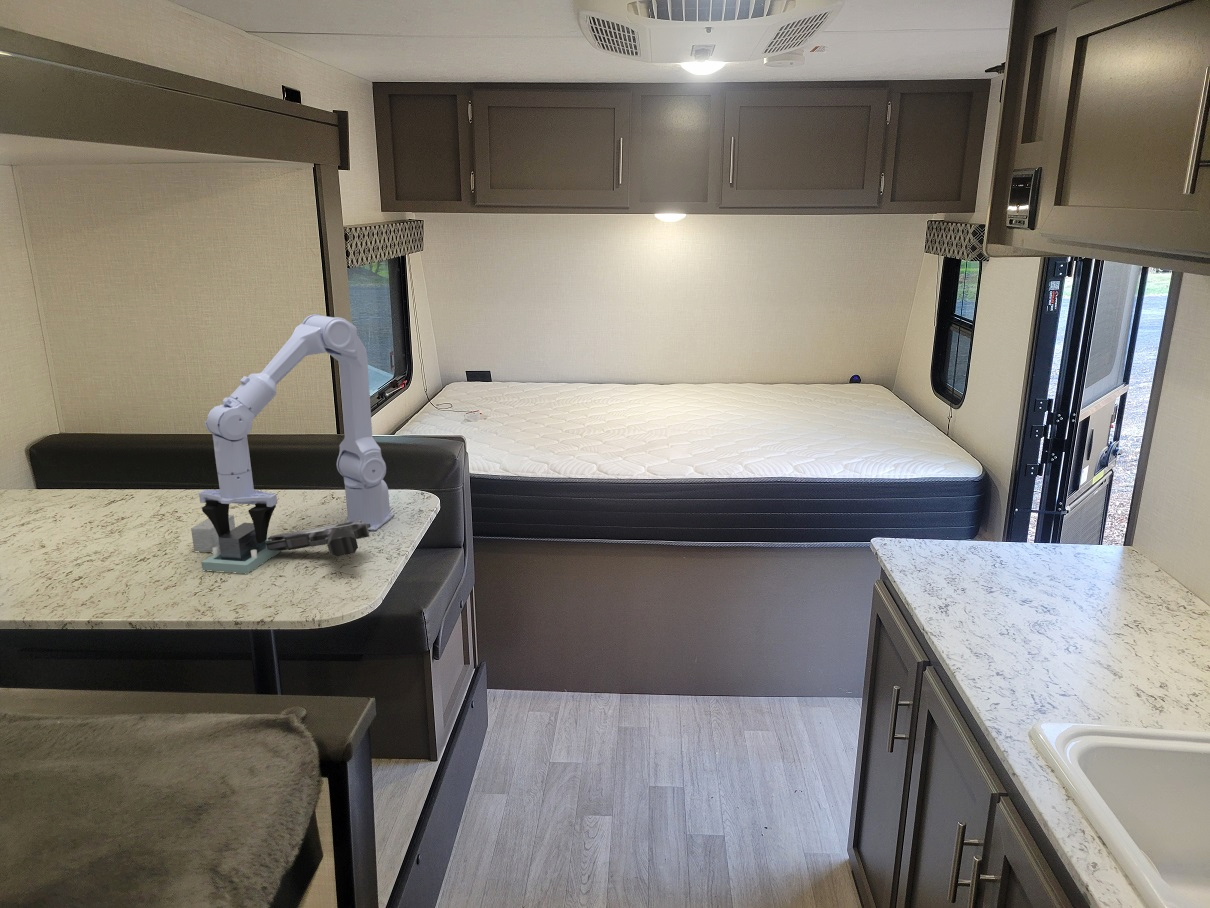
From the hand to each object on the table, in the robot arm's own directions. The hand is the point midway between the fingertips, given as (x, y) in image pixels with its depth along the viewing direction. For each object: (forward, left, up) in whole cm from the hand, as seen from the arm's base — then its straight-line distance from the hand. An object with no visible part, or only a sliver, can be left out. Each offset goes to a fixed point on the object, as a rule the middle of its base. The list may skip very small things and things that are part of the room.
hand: (243, 540), depth 157 cm
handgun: (0, +14, -1) cm, 15 cm away
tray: (0, 0, -4) cm, 4 cm away
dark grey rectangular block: (0, 0, -3) cm, 3 cm away
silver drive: (-6, -10, -4) cm, 12 cm away
